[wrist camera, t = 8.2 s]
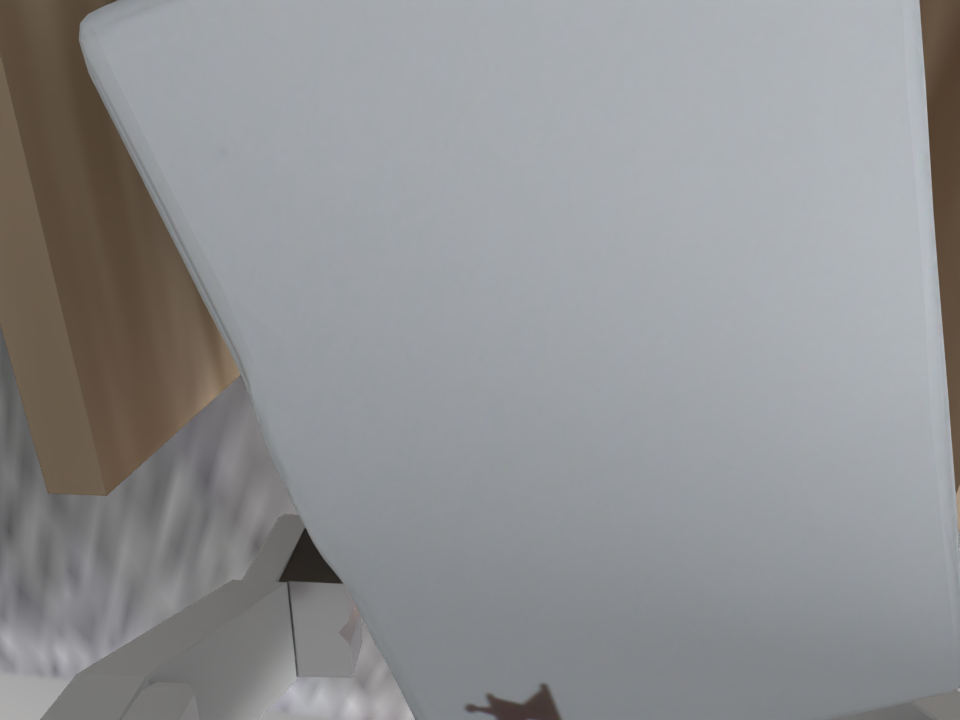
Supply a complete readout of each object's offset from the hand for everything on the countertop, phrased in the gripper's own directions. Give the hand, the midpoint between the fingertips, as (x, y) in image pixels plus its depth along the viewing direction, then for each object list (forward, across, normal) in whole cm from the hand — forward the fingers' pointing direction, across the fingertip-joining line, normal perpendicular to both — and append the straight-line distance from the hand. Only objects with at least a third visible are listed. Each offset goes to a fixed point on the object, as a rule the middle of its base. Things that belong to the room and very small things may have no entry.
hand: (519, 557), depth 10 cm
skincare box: (+7, 0, -5) cm, 9 cm away
